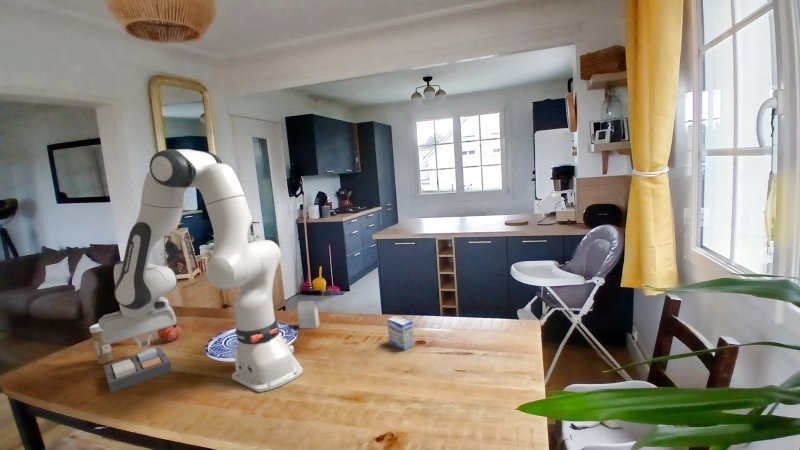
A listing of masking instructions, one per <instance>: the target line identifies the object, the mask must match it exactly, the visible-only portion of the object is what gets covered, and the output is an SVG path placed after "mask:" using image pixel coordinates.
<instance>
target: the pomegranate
mask: <svg viewBox="0 0 800 450" xmlns="http://www.w3.org/2000/svg"><path fill="white" fill-rule="evenodd" d="M156 331H157V337H158V338H159V339H161V340H162V341H163V342H164V343H168V342H170V343H171V342H173V341H174V340H176V339H178V338H179V337H180V335H181V328H180V326H179V325H178V324H177V322H176V323H175V325H173V326H169V327H166V328H162V329H159V330H156Z"/></svg>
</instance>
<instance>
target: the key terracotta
mask: <svg viewBox="0 0 800 450" xmlns="http://www.w3.org/2000/svg"><path fill="white" fill-rule="evenodd" d="M160 363H162V361H161V360H160V358H159V357H157V358H154V359H151V360H148V361H145V362H142V363H141V366H142V370H143V369H146V368H149V367H152V366H154V365H157V364H160Z"/></svg>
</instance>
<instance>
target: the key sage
mask: <svg viewBox="0 0 800 450" xmlns="http://www.w3.org/2000/svg"><path fill="white" fill-rule="evenodd" d="M131 362H132V361H131V359H127V360H124V361H121V362H118V363H115V364H112V368H116V367H119V366H122V365H125V364H128V363H131ZM113 371H114V369H113Z"/></svg>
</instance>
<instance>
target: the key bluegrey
mask: <svg viewBox="0 0 800 450" xmlns="http://www.w3.org/2000/svg"><path fill="white" fill-rule="evenodd" d="M155 349H156V348H155V347H151V348H148V349H147V348H146V349H144V350H141V351H139V352H136V355H137V357H138V360H139V362H141V361H144V360H147V359H150V358H153V357H156V356H158V355H157V351H156V350H155Z"/></svg>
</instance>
